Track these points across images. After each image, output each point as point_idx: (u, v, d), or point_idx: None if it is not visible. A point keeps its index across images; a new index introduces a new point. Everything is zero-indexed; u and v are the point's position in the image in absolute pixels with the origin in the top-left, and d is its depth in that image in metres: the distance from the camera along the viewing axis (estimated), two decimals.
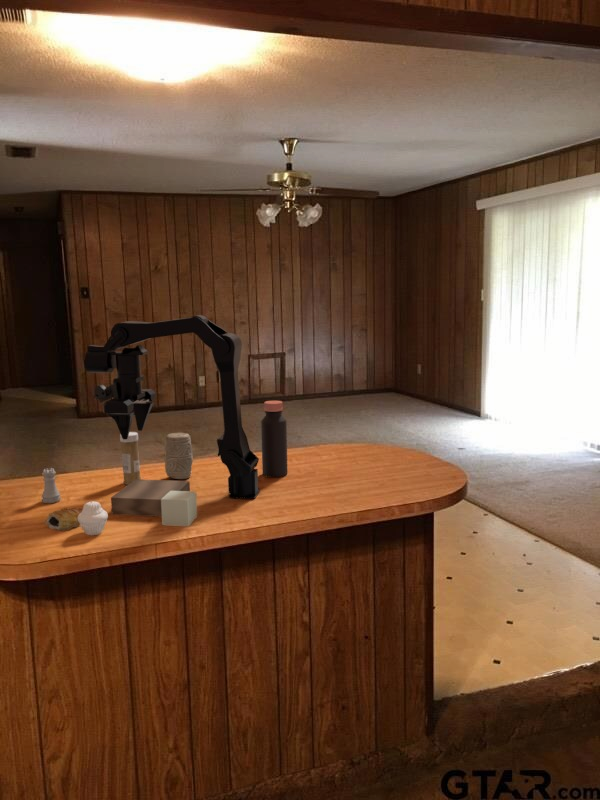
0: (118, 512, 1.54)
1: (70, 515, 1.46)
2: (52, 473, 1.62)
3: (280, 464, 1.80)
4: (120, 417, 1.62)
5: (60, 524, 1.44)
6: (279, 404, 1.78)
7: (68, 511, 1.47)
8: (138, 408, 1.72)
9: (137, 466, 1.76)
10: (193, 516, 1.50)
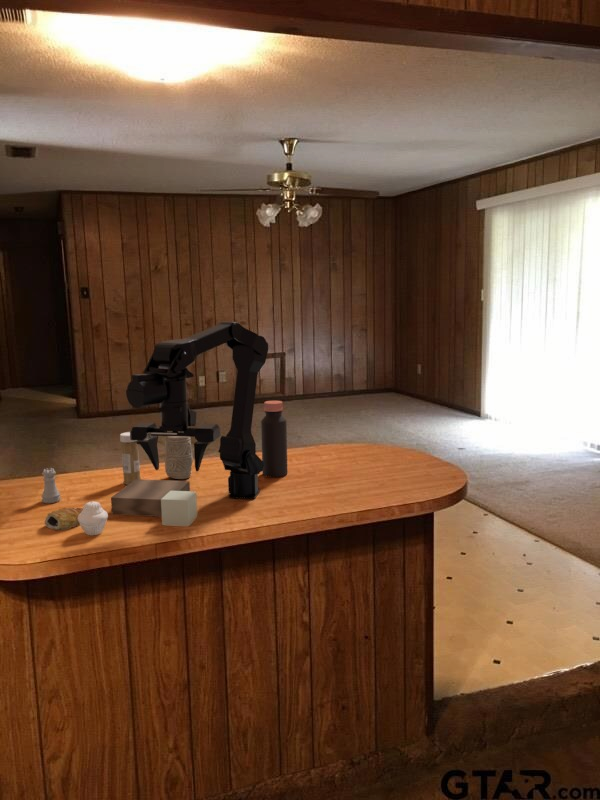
0: (118, 512, 1.54)
1: (69, 515, 1.46)
2: (52, 473, 1.62)
3: (280, 464, 1.80)
4: None
5: (58, 524, 1.44)
6: (279, 404, 1.78)
7: (67, 511, 1.47)
8: None
9: (137, 466, 1.76)
10: (193, 516, 1.50)
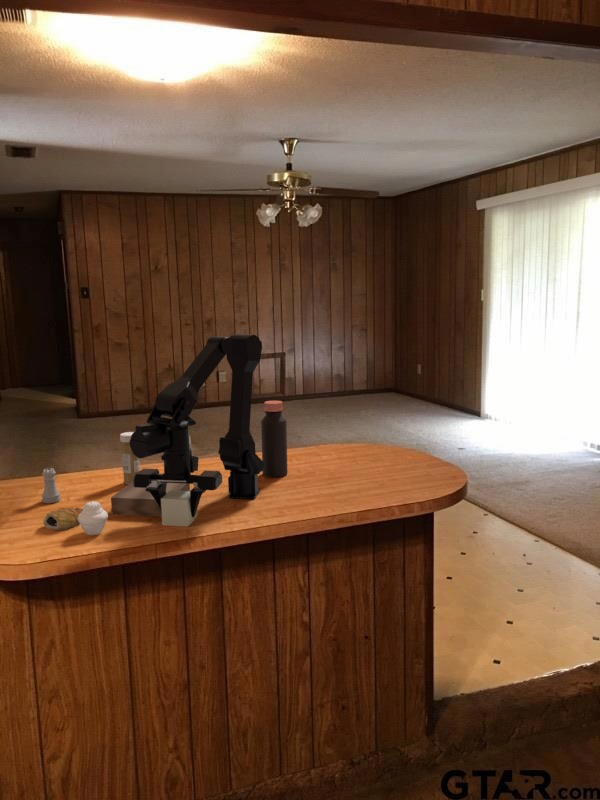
0: (118, 512, 1.54)
1: (68, 515, 1.46)
2: (52, 473, 1.62)
3: (280, 464, 1.80)
4: None
5: (57, 524, 1.44)
6: (279, 404, 1.78)
7: (65, 511, 1.47)
8: None
9: (137, 466, 1.76)
10: None
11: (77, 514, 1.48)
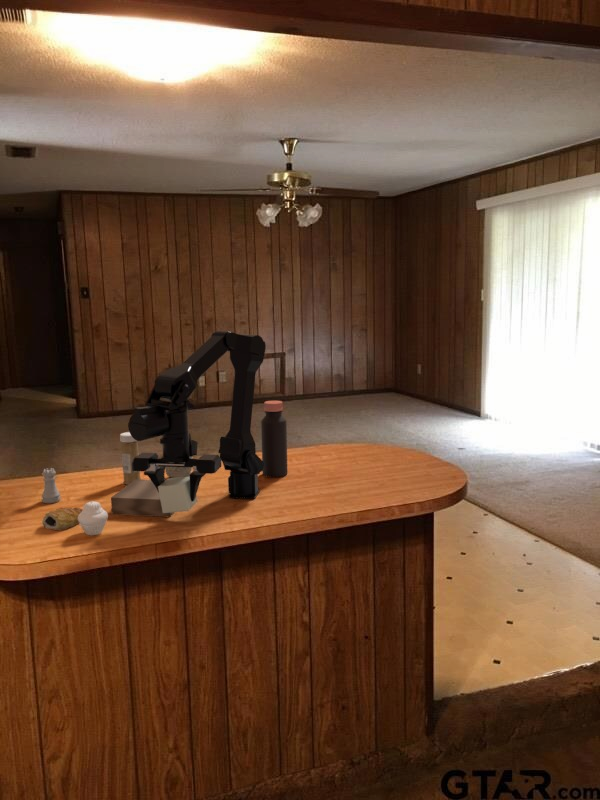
0: (118, 512, 1.54)
1: (67, 515, 1.47)
2: (52, 473, 1.62)
3: (280, 464, 1.80)
4: None
5: (57, 524, 1.45)
6: (279, 404, 1.78)
7: (64, 511, 1.48)
8: None
9: None
10: None
11: (76, 514, 1.48)
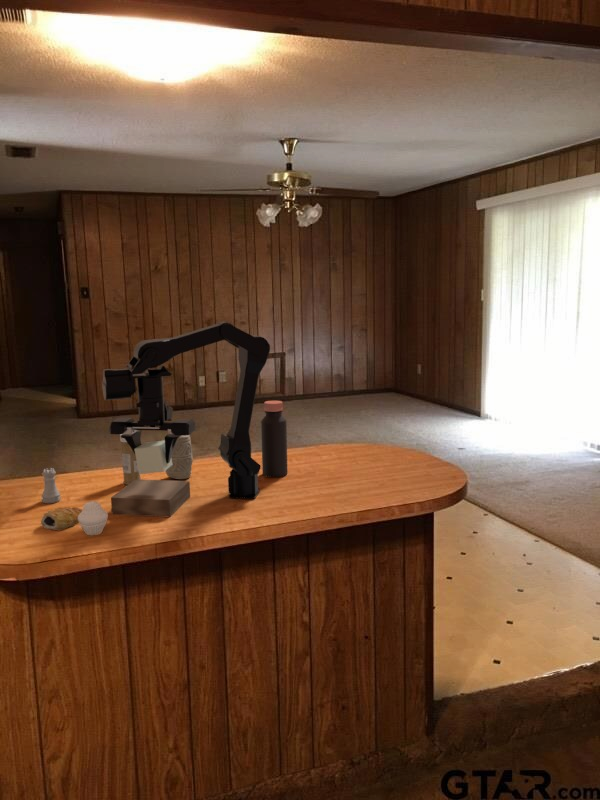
0: (118, 512, 1.54)
1: (66, 515, 1.47)
2: (52, 473, 1.62)
3: (280, 464, 1.80)
4: None
5: (56, 524, 1.45)
6: (279, 404, 1.78)
7: (63, 510, 1.48)
8: None
9: (137, 466, 1.76)
10: (168, 463, 1.56)
11: (75, 514, 1.49)
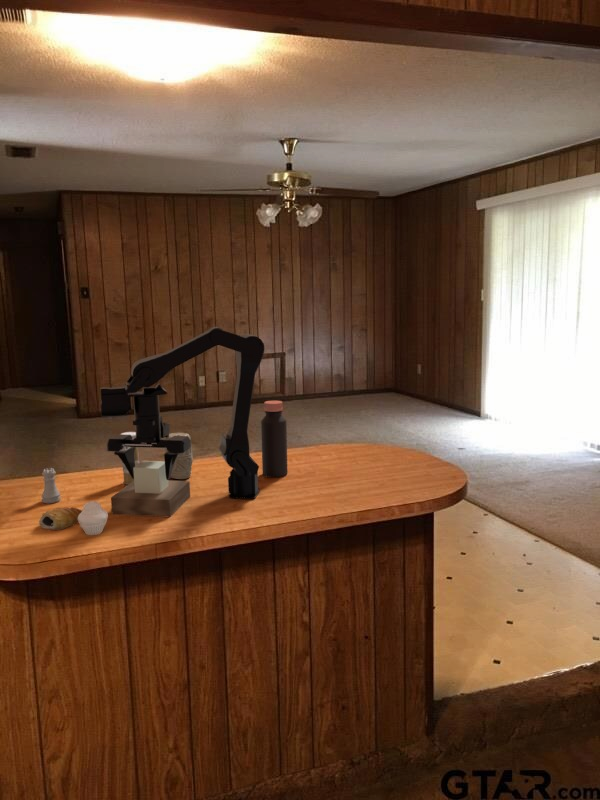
0: (118, 512, 1.54)
1: (64, 514, 1.47)
2: (52, 473, 1.62)
3: (280, 464, 1.80)
4: None
5: (54, 524, 1.45)
6: (279, 404, 1.78)
7: (61, 510, 1.48)
8: None
9: None
10: (164, 484, 1.59)
11: (73, 514, 1.49)
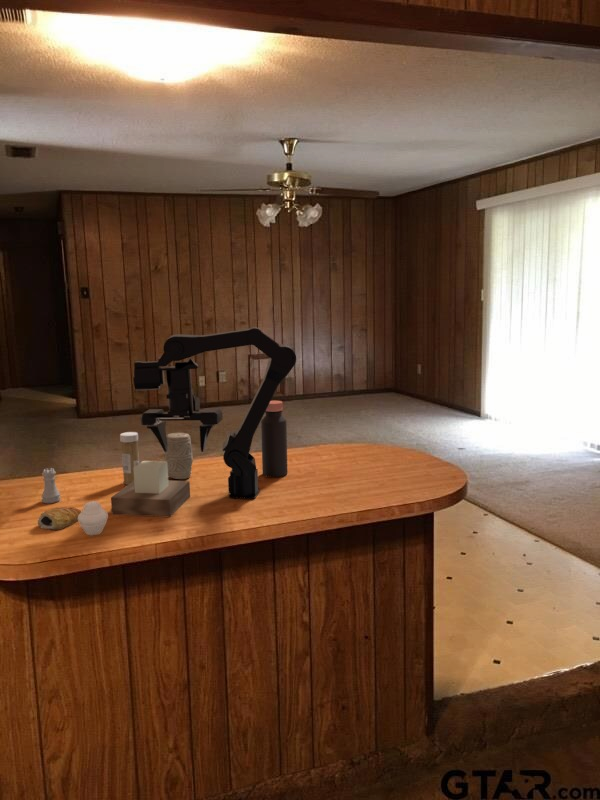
0: (118, 512, 1.54)
1: (63, 514, 1.47)
2: (52, 473, 1.62)
3: (280, 464, 1.80)
4: None
5: (53, 524, 1.45)
6: (279, 404, 1.78)
7: (60, 510, 1.48)
8: None
9: None
10: (164, 484, 1.59)
11: (72, 513, 1.49)
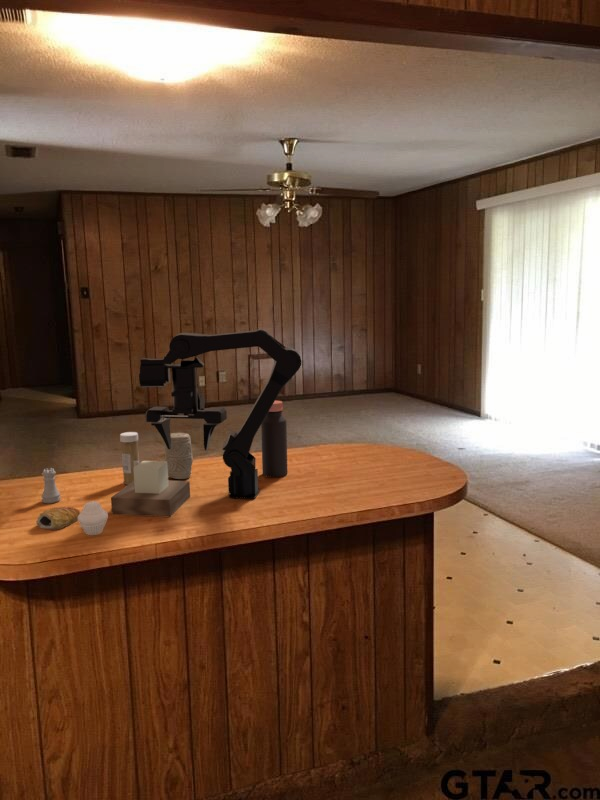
0: (118, 512, 1.54)
1: (62, 514, 1.47)
2: (52, 473, 1.62)
3: (280, 464, 1.80)
4: None
5: (52, 524, 1.45)
6: (279, 404, 1.78)
7: (59, 510, 1.48)
8: None
9: None
10: (164, 484, 1.59)
11: (70, 513, 1.49)
